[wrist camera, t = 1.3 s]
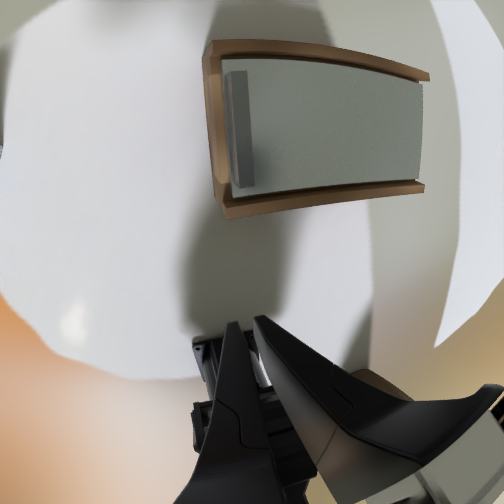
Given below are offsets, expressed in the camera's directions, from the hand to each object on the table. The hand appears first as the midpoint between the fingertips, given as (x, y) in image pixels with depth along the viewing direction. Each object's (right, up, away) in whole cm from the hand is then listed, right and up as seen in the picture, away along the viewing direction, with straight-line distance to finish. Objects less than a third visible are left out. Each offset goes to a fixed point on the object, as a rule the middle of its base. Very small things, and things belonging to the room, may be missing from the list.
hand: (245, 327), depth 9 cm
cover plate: (+6, +11, +6) cm, 14 cm away
